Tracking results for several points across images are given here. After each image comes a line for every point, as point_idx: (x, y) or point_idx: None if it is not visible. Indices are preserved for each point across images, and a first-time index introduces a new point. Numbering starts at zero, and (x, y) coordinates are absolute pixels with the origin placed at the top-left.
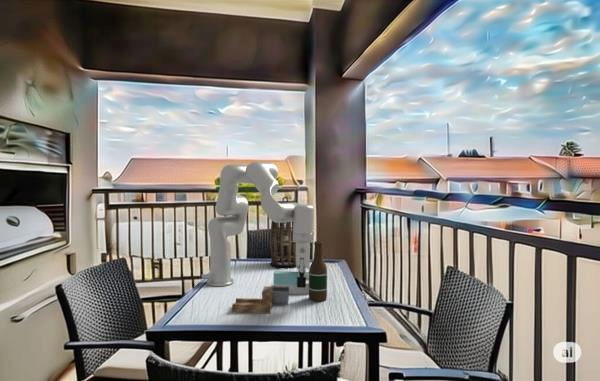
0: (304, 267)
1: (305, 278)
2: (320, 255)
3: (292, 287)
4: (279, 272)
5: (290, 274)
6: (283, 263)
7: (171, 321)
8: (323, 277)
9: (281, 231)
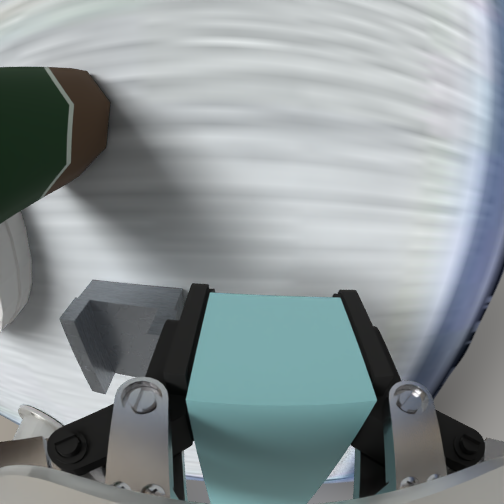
0: (171, 484)
1: (385, 364)
2: None
3: (11, 277)
4: None
5: (320, 485)
6: None
7: (327, 478)
8: None
9: None
